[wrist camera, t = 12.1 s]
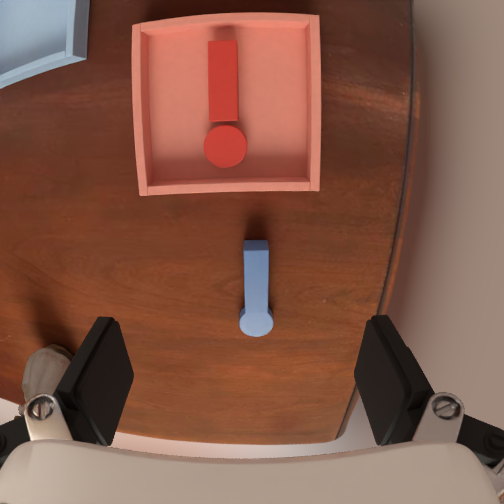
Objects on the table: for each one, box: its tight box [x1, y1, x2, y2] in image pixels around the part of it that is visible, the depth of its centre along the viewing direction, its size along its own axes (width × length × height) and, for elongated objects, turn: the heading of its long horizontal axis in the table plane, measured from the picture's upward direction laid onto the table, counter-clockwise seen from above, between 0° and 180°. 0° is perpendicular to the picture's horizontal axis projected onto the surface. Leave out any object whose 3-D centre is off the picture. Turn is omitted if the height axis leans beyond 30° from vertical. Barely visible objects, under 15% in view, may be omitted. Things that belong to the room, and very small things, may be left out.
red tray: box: [132, 12, 321, 196], centre depth 21 cm, size 13×13×3 cm
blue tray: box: [0, 0, 90, 89], centre depth 16 cm, size 13×13×3 cm
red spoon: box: [204, 40, 247, 168], centre depth 21 cm, size 3×10×2 cm, turn 1°
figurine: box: [14, 344, 74, 419], centre depth 27 cm, size 8×7×15 cm
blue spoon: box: [239, 240, 273, 337], centre depth 28 cm, size 3×10×2 cm, turn 1°
